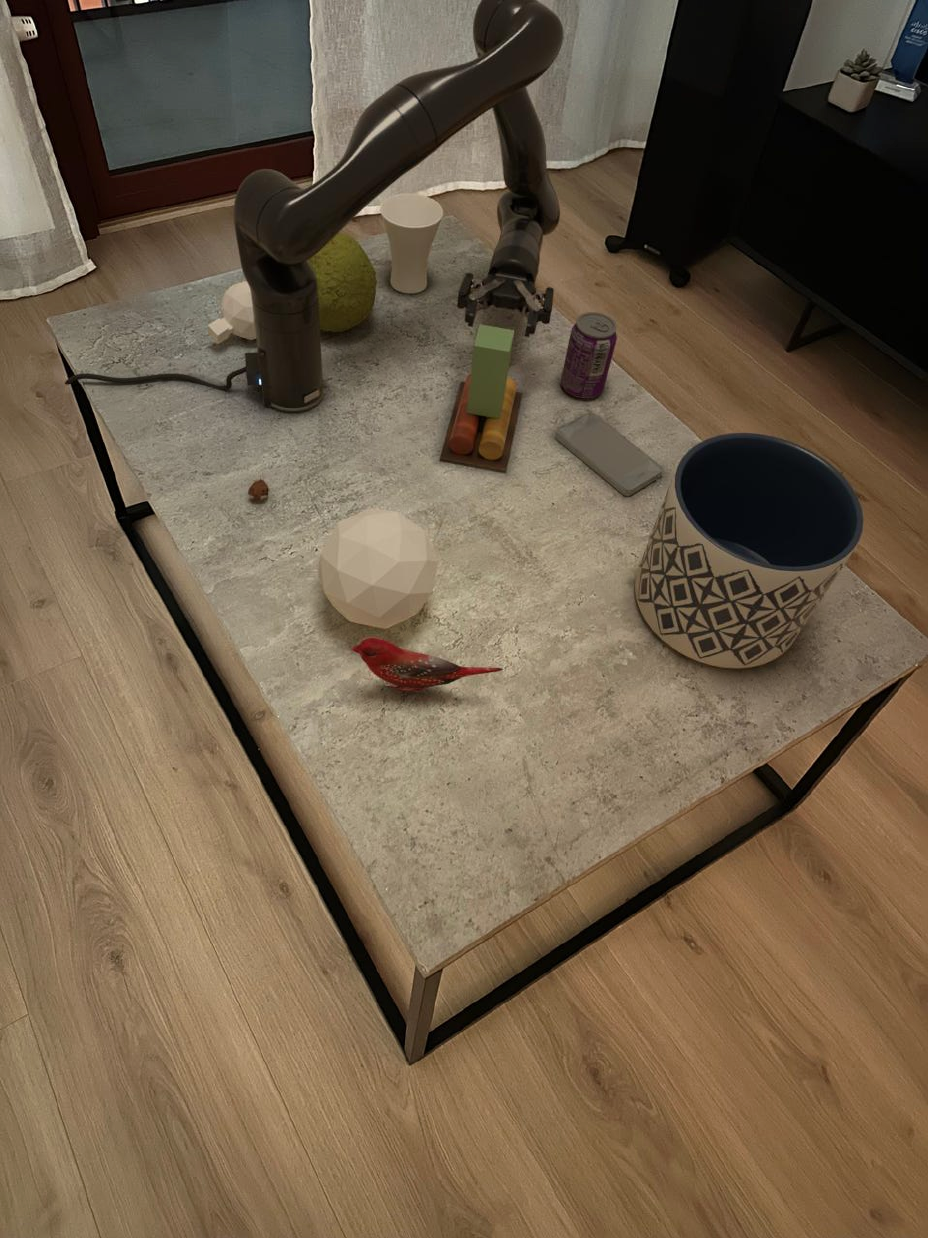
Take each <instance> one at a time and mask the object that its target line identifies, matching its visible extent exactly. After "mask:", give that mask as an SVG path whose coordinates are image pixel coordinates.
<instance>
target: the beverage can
mask: <svg viewBox="0 0 928 1238" xmlns="http://www.w3.org/2000/svg"><path fill="white" fill-rule="evenodd" d="M617 327H618V326H617V324H616V321H615V320H614V319H613V318H612V317H610V316H609V315H607V314H605V313H602V312H596V311H587V312H583V313H582V314H580V315H579V316H577V318H576V322H575V324H573V325H572V328H571V330H570V335H569V339H568V343H567V349H566V353H565V358H564V363H563V367H562V368H563V369H562V373H561V377H560V385H561V387H562V388H563V390H564V391H565V392H567V394H569V395H571V396H573V397H576V398H579V399H580V398H581V399H592V398H595V397H598V396H599V395H601V394H602V393H603V392H604V390H605V386H606V383H607V382H606V381H607V379H608V374H609V371H610V367H611V363H612V359H613V357H614V356H613V355H614V353H615V348H616V344H617V339H618V334H617Z"/></svg>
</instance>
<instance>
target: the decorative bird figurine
mask: <svg viewBox="0 0 928 1238" xmlns="http://www.w3.org/2000/svg"><path fill="white" fill-rule="evenodd" d="M350 651H352V652H355V653H358V654H359V656H360V658H361V660H362V661H363V662H364V663H365V664H366V666H367V667H368V669H369V671H371V673H373V674H374V675H375V676H376V677H378V678H379V679H381V680H382V681H384V682H387V683H389V684H392V685H395V686H392V685H386V686H385V688H388V689H389V688H390V689H395V690H398V691H399V692H415V691H416V692H421V691H427V692H429V689H427V688H432V687H437V686H445V685H449V684H452V683H454V682H455V681H458V680H460V679H462V678H465V677H470V676H475V675H484V674H490V673H497V672H502V670H504V669H503V668H501V667H495V666H494V667H492V666H491V667H489V666H488V667H487V666H486V667H483V666H480V667H479V666H478V667H477V666H461V665H458V664H456V663H454V662H451V661H448V660H446V659H444V658H440V657H436V656H433V655H431V654H426V653H422V652H418V651H414V650H409V649H406V648H403V647H400V646H398V645H396V644H394V643H392V642H390V641H388V640H386V639H382V638H378V637H367V638H365V639H363V640H361V641H360V642H359V644H357V645H356V646H354V647H352V648H351V649H350Z"/></svg>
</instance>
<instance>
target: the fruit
mask: <svg viewBox="0 0 928 1238" xmlns="http://www.w3.org/2000/svg"><path fill="white" fill-rule="evenodd" d="M307 261H308V263H309V264H310V266H311V267H312V269H313V271H314V272H315V275H316V277H317V282H318V299H319V318H320V331H323V332H333V333H338V332H339V333H342V332H345V331H349V330H350V329H353V327H357V326H358V325H360V324H361V323H362V322H363V321H365V319H367V317H368V316H369V315H370V314H371V312H373V311H374V310H373V309H374V306H375V302H376V295H377V294H376V293H377V285H378V280H377V272H376V268H375V267H374V266H373V264H372V262H371V259H370V258H369V256H368V254H367V253H366V252H365V250H364V248H363V247H362V246H361V244H360V243H359V241H358V240H356V239H355V237H353V236H351V235H349V234H345V233H343V232H339V233H338V234H337V235H336V236H335V237H334V238H333V239H332V240H331V241H330V242H329V243H327V244H326V245H325V246H324V247H323V248H322V249H321V250H320V251H319V252H318V253H317V254H315V255H314V256H313V257H311V258H310V259H308V260H307Z"/></svg>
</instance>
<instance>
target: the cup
mask: <svg viewBox="0 0 928 1238" xmlns="http://www.w3.org/2000/svg"><path fill="white" fill-rule="evenodd" d="M379 212H380V215H381V219H382V221H383V226H384V228H385V232H386V235H387V238H388V242H389V243H388V244H389V249H390V256H391V274H390V285H391V287H392V288H393V289H394V290H396V291H397V292H400V293H403V294H418V293H420V292H422V291H424V290H425V289H426V288H427V286H428V271H427V270H428V261H429V257H430V253H431V248H432V245H433V242H434V240H435V237H436V234H437V232H438V230H439V227H440V224H441V223H442V220H443V217H444V210H443V207H442V205H440V203H439V202H437V200H434V199H433V198H431V197H428V196H426V195H422V194H418V193H399V194H393V195H391V196H389V197H387V198H386V199H384V200H383V201H382V203H381V204H380V206H379Z"/></svg>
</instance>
